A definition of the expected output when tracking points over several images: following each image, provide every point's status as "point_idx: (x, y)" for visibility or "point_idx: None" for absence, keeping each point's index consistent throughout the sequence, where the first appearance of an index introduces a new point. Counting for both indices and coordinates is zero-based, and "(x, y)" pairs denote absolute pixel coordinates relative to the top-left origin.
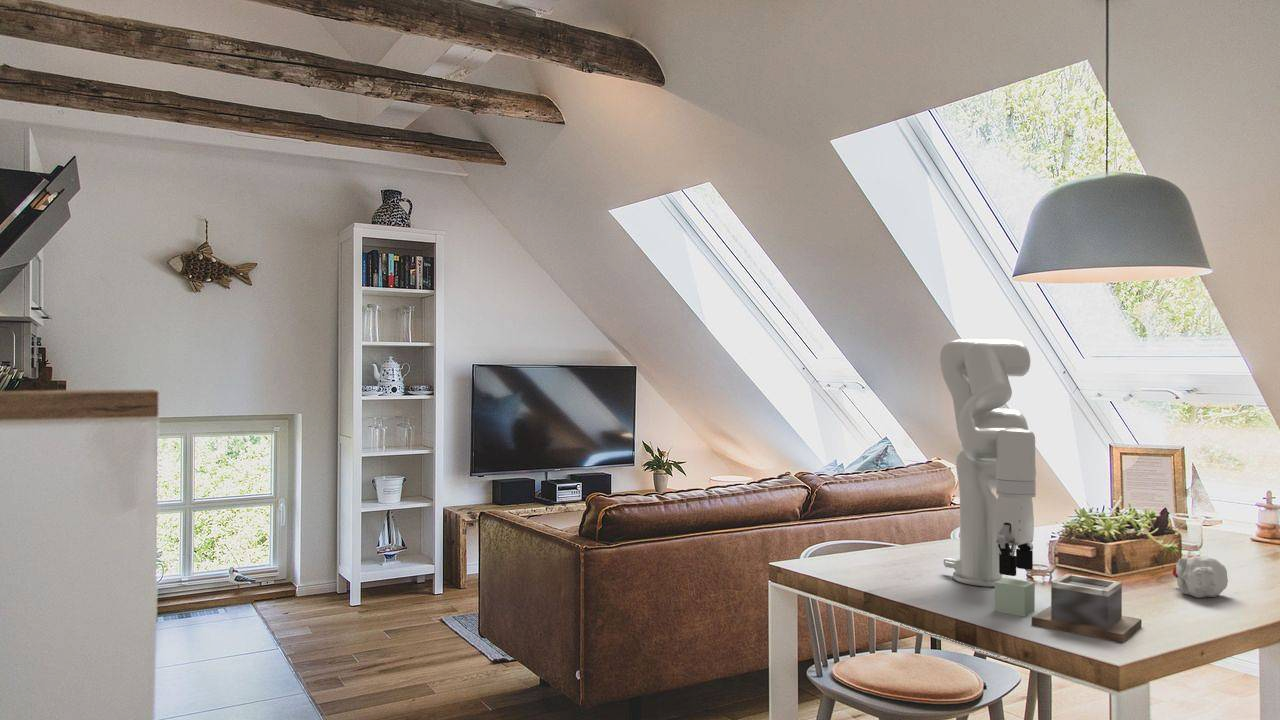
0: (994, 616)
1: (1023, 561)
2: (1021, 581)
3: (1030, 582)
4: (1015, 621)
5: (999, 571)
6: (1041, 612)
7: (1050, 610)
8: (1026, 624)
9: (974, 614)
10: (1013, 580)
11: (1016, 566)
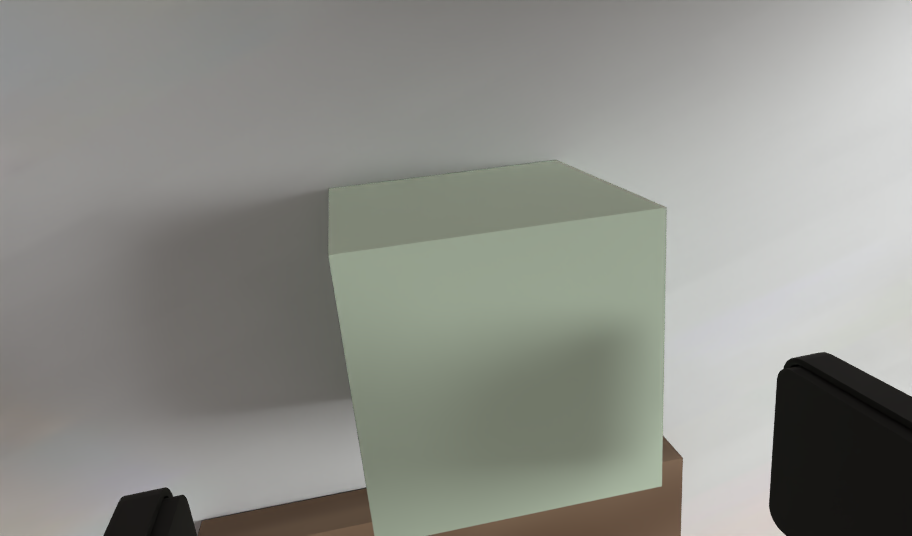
0: (165, 271)
1: (844, 497)
2: (604, 403)
3: (626, 470)
4: (180, 425)
5: (115, 512)
6: (373, 531)
7: (478, 532)
8: None
9: (61, 138)
10: (587, 335)
11: (799, 361)
